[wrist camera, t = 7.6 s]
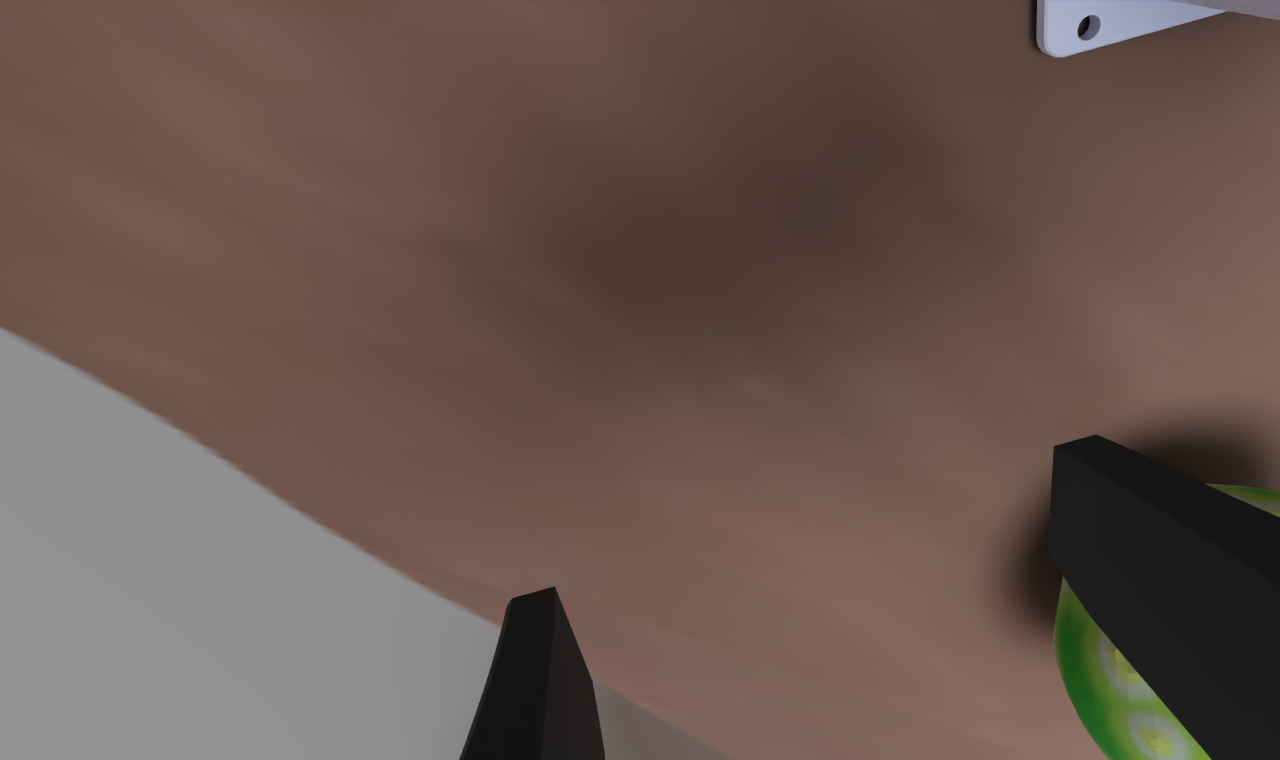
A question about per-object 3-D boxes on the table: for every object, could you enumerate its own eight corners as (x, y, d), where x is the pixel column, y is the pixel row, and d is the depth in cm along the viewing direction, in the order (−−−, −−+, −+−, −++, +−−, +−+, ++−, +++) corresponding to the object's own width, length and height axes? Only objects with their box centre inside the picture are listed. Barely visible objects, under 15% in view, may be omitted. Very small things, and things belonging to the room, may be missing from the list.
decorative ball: (1328, 496, 28) (1683, 762, 19) (1099, 670, 31) (1315, 960, 23) (1174, 363, 24) (1534, 624, 16) (932, 579, 28) (1118, 888, 19)
